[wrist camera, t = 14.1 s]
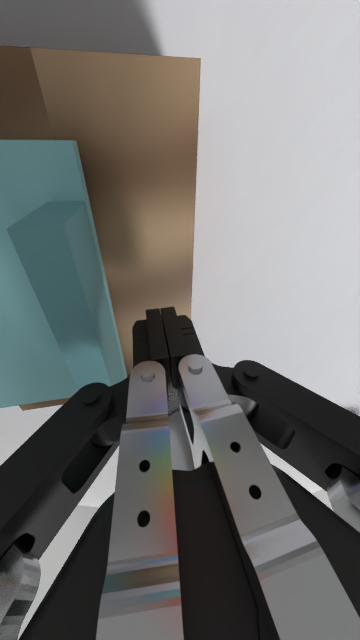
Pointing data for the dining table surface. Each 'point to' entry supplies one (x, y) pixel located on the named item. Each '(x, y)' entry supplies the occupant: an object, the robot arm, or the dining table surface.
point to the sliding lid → (51, 278)
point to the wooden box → (119, 163)
